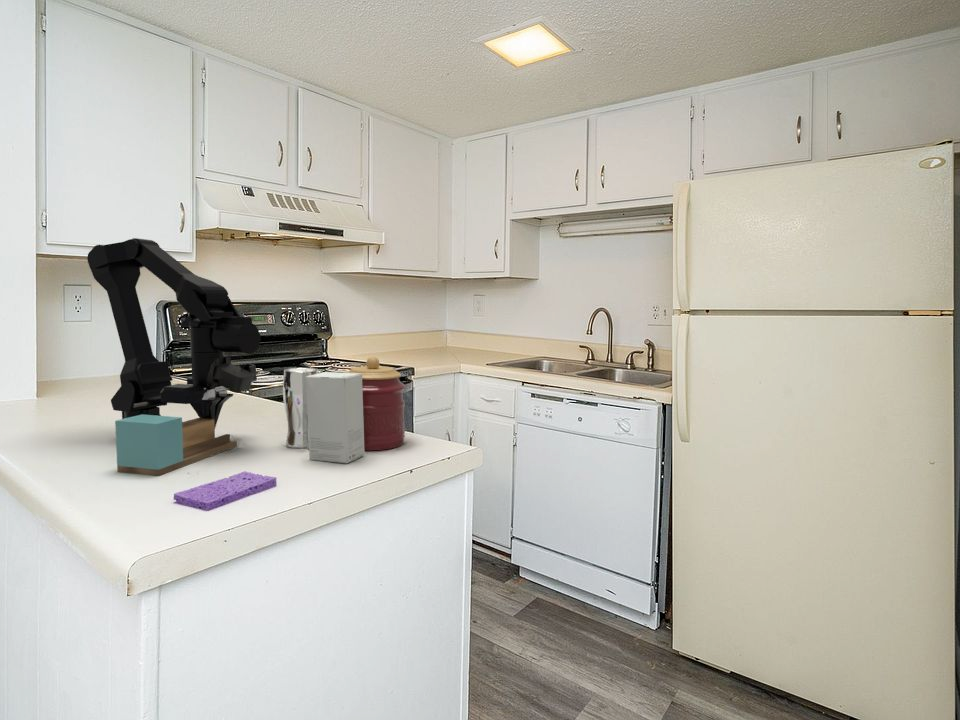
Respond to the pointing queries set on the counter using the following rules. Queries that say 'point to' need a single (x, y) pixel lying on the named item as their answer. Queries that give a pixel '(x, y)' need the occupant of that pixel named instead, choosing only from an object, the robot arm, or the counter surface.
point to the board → (189, 455)
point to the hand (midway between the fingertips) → (210, 431)
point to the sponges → (224, 490)
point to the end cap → (149, 441)
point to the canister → (381, 406)
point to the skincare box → (335, 416)
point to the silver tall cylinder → (296, 405)
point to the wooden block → (197, 431)
